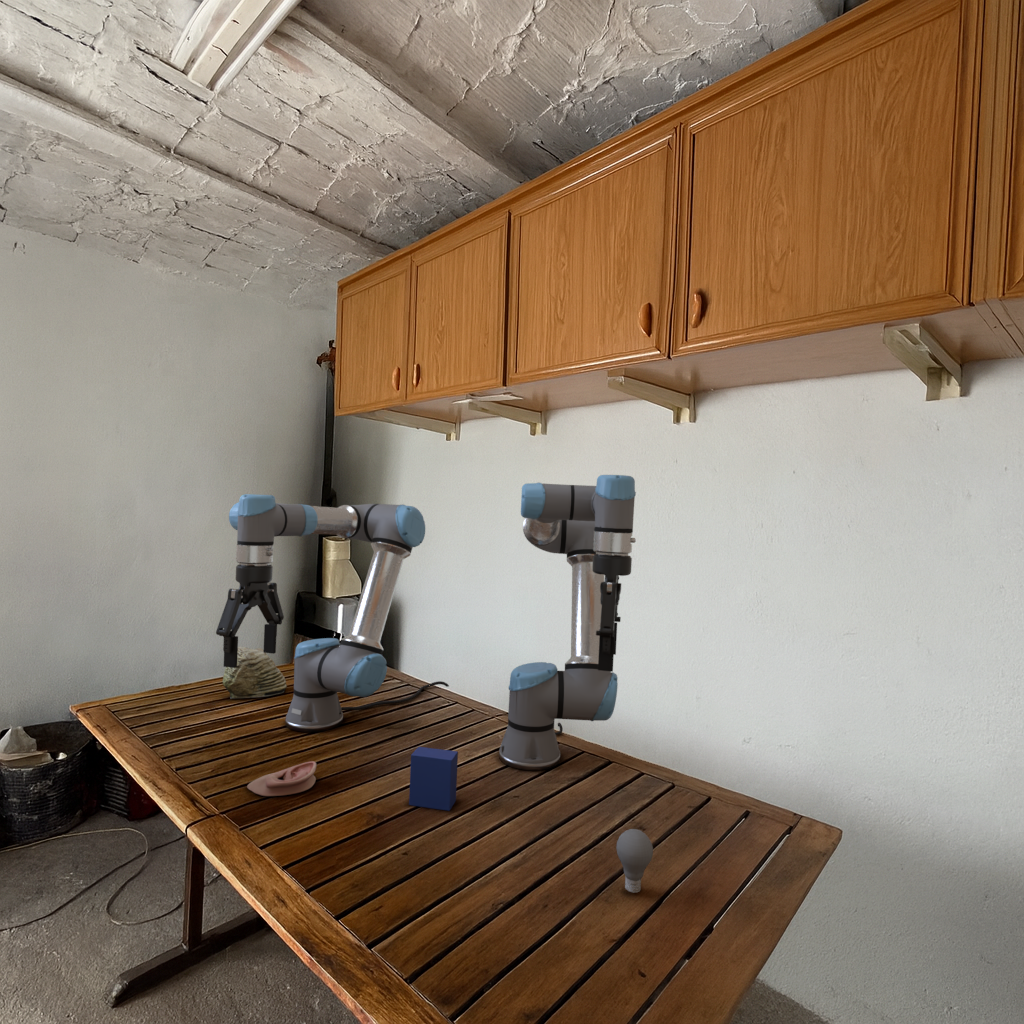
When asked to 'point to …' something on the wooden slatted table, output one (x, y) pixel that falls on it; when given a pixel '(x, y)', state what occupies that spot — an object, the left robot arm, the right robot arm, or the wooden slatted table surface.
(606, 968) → the wooden slatted table surface
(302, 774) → the anatomical model
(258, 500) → the left robot arm
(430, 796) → the brick
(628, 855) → the light bulb
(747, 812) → the wooden slatted table surface
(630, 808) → the wooden slatted table surface
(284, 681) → the fossil
